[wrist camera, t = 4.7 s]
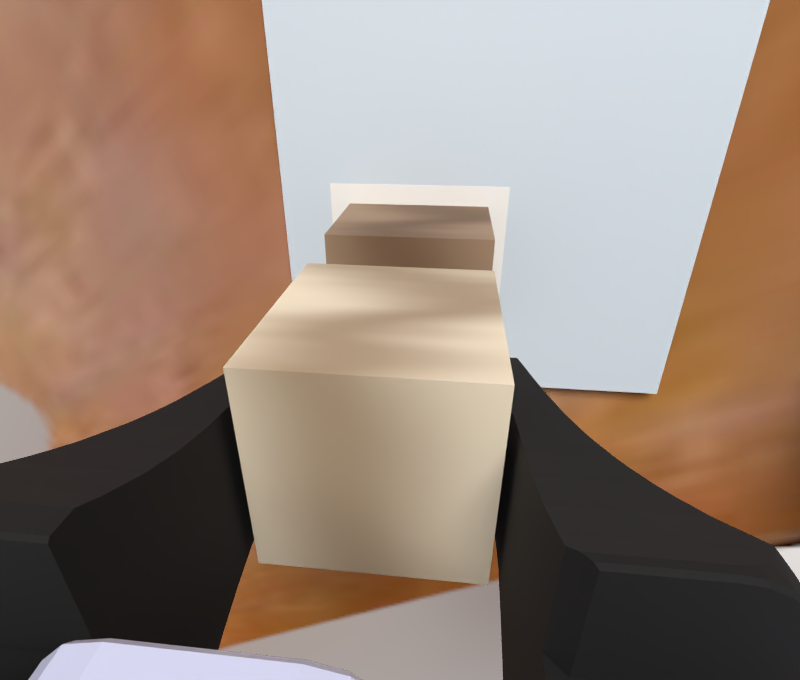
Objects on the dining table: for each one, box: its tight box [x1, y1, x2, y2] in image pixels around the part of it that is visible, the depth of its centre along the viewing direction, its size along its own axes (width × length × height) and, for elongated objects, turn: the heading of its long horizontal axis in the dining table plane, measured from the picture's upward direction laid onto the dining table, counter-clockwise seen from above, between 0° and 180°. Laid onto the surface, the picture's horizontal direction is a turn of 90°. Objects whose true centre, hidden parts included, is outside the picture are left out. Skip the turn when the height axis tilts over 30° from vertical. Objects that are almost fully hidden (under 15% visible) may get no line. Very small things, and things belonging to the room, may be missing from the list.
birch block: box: [223, 263, 515, 585], centre depth 11 cm, size 4×4×5 cm
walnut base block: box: [324, 203, 495, 271], centre depth 18 cm, size 5×5×4 cm
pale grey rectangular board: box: [262, 0, 770, 394], centre depth 17 cm, size 15×22×1 cm
